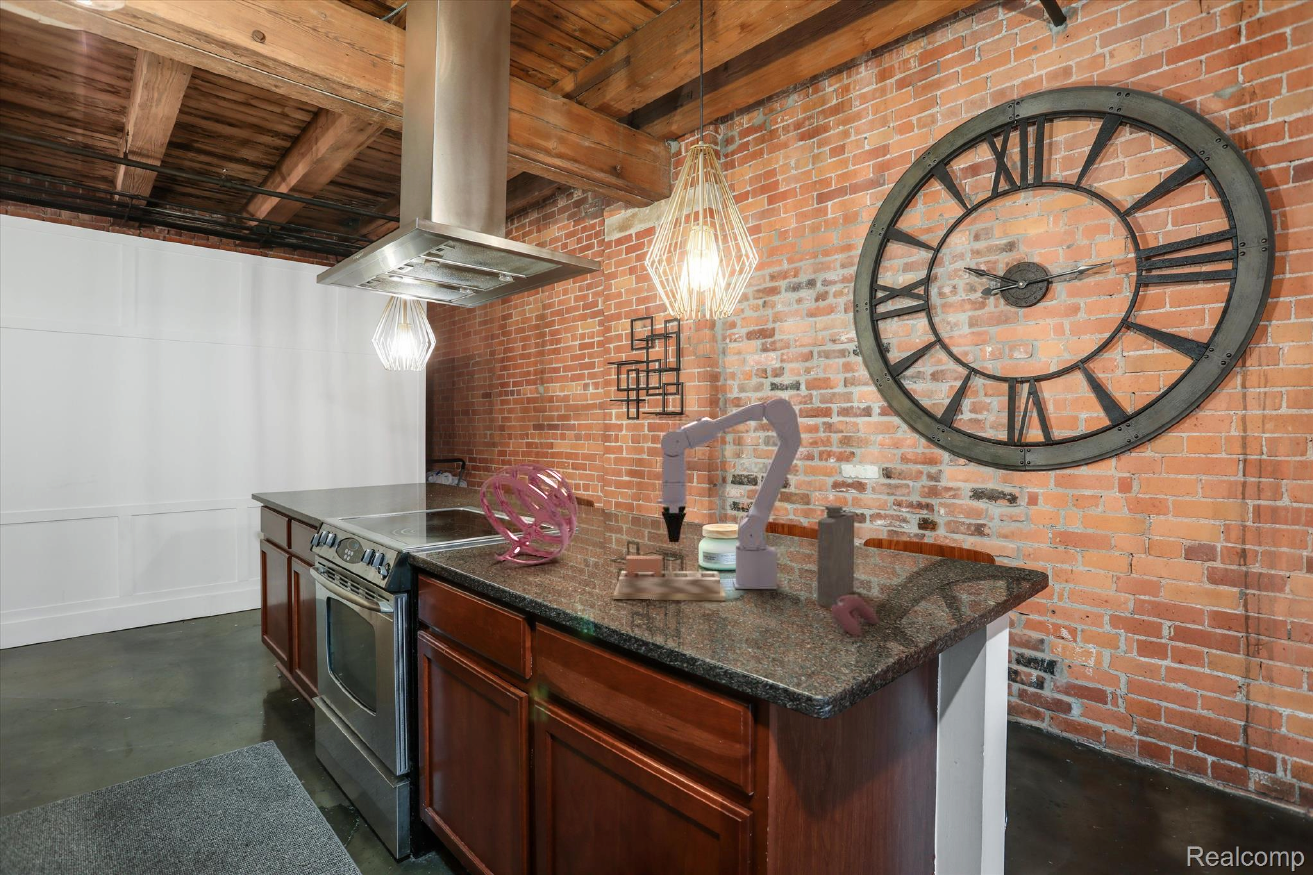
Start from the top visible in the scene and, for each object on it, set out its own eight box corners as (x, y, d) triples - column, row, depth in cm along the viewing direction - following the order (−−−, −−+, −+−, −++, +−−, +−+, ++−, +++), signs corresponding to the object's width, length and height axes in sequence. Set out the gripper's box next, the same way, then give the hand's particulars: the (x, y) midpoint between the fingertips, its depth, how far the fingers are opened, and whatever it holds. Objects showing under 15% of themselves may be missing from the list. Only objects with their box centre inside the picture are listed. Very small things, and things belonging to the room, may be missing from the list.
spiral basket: (489, 500, 151) (554, 433, 169) (434, 516, 170) (498, 454, 188) (558, 584, 159) (614, 512, 178) (498, 590, 178) (554, 525, 196)
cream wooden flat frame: (721, 586, 147) (721, 569, 147) (725, 600, 136) (725, 581, 136) (618, 585, 148) (618, 568, 148) (613, 599, 137) (613, 581, 137)
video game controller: (860, 627, 124) (844, 593, 125) (881, 621, 121) (865, 586, 123) (839, 642, 116) (823, 604, 118) (861, 635, 113) (844, 597, 115)
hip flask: (829, 607, 132) (830, 511, 131) (810, 603, 134) (811, 509, 133) (855, 590, 144) (856, 502, 144) (838, 587, 147) (838, 501, 146)
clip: (662, 586, 144) (662, 555, 144) (662, 590, 141) (662, 558, 141) (627, 586, 144) (627, 555, 144) (626, 589, 141) (625, 558, 141)
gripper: (657, 478, 158) (658, 533, 158) (656, 484, 143) (656, 544, 144) (686, 478, 158) (686, 533, 158) (687, 484, 143) (687, 545, 144)
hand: (674, 538), depth 151 cm, fingers open, 7 cm apart
